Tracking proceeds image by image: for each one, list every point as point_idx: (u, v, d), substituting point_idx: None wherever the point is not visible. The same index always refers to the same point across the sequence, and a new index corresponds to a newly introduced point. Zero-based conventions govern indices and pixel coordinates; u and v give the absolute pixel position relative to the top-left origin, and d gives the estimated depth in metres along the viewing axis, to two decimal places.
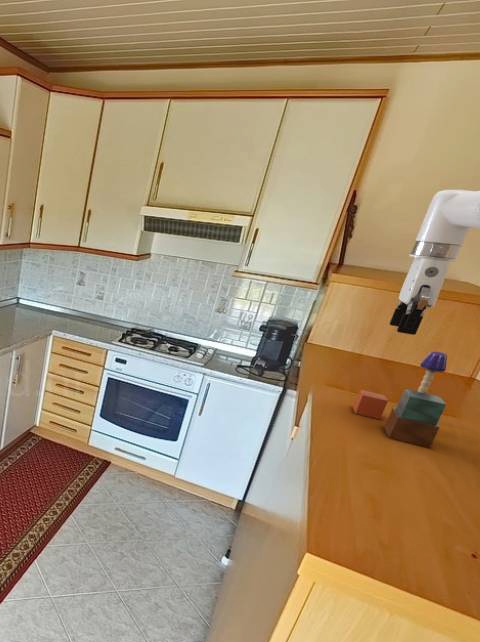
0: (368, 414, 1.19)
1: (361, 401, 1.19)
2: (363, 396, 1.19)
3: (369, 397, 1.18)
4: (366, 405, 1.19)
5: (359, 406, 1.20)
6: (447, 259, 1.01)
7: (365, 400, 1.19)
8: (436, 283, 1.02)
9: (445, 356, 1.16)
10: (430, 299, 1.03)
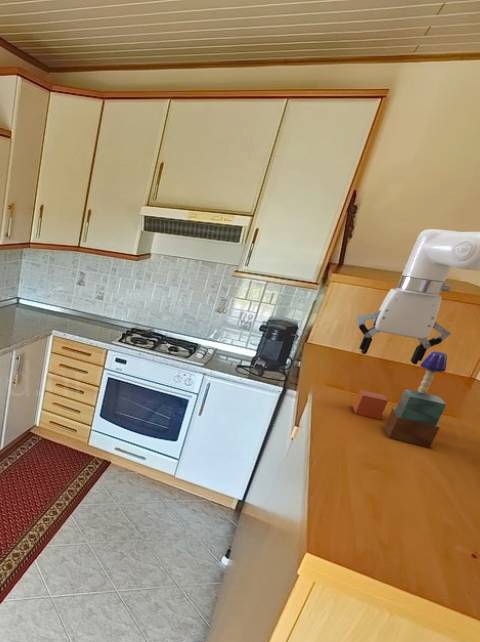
0: (368, 414, 1.19)
1: (361, 401, 1.19)
2: (363, 396, 1.19)
3: (369, 397, 1.18)
4: (366, 405, 1.19)
5: (359, 406, 1.20)
6: None
7: (365, 400, 1.19)
8: None
9: (445, 356, 1.16)
10: None
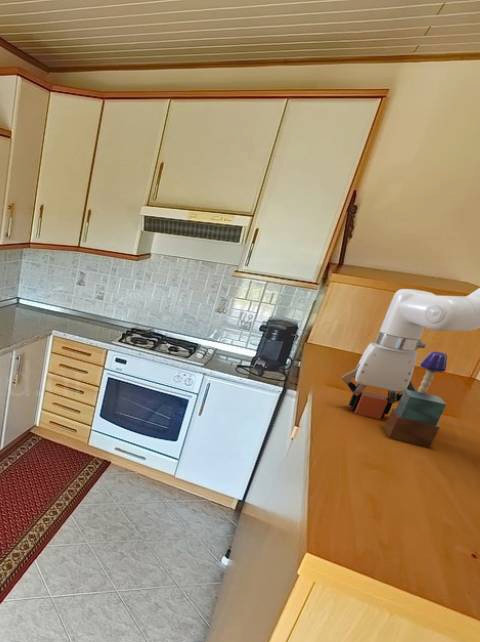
0: (368, 414, 1.19)
1: (361, 401, 1.19)
2: (363, 396, 1.19)
3: (369, 397, 1.18)
4: (366, 405, 1.19)
5: (359, 406, 1.20)
6: None
7: (365, 400, 1.19)
8: None
9: (445, 356, 1.16)
10: None
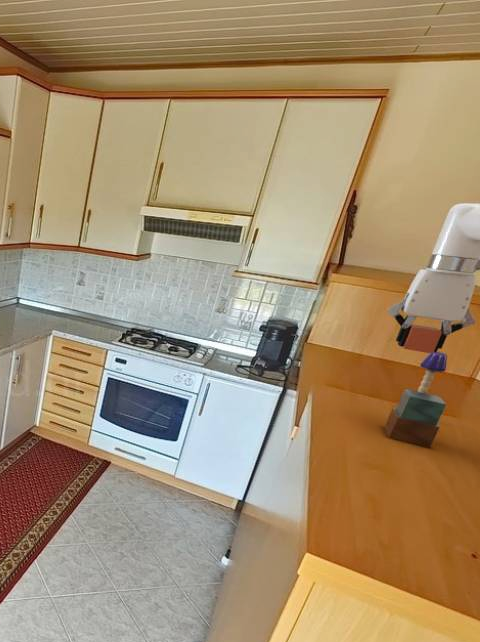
0: (419, 348, 1.07)
1: (411, 334, 1.07)
2: (413, 328, 1.07)
3: (420, 329, 1.06)
4: (417, 338, 1.07)
5: (408, 340, 1.08)
6: None
7: (415, 333, 1.07)
8: None
9: (445, 356, 1.16)
10: None
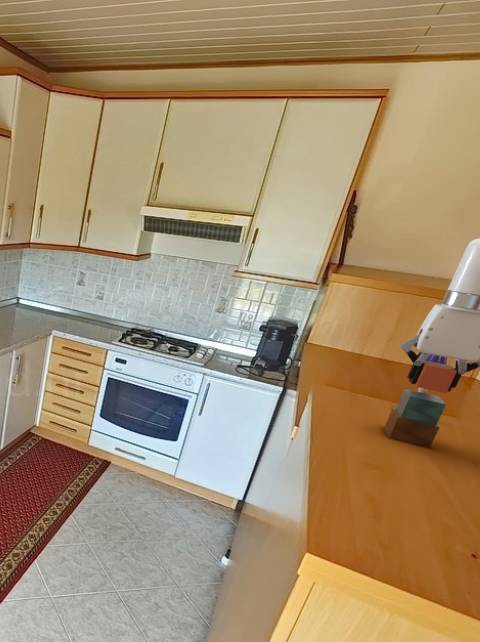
0: (432, 387, 1.03)
1: (424, 372, 1.03)
2: (426, 366, 1.02)
3: (434, 367, 1.02)
4: (430, 376, 1.02)
5: (421, 378, 1.03)
6: None
7: (429, 371, 1.02)
8: None
9: None
10: None
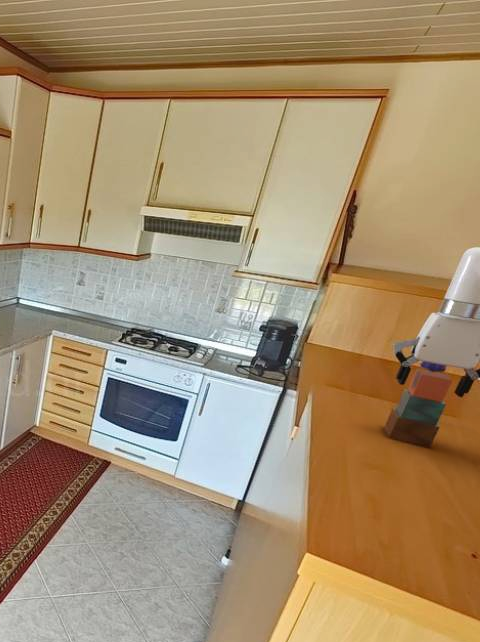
0: (428, 396, 1.03)
1: (420, 382, 1.03)
2: (422, 376, 1.03)
3: (429, 377, 1.02)
4: (426, 386, 1.03)
5: (417, 387, 1.04)
6: None
7: (424, 380, 1.03)
8: None
9: None
10: None
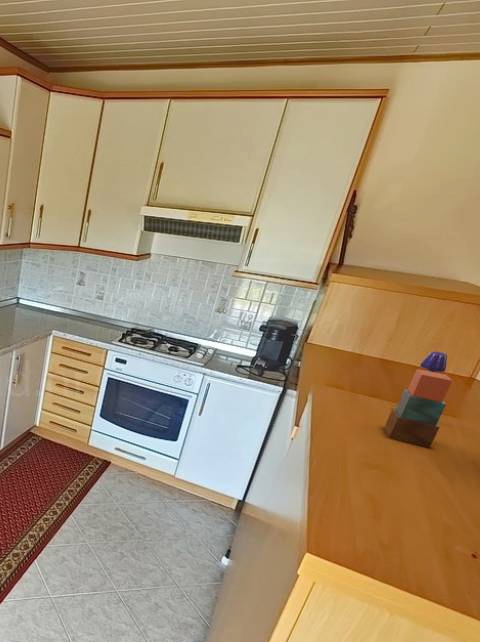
0: (428, 396, 1.03)
1: (420, 382, 1.03)
2: (422, 376, 1.03)
3: (429, 377, 1.02)
4: (426, 386, 1.03)
5: (417, 387, 1.04)
6: None
7: (425, 380, 1.03)
8: None
9: (445, 356, 1.16)
10: None
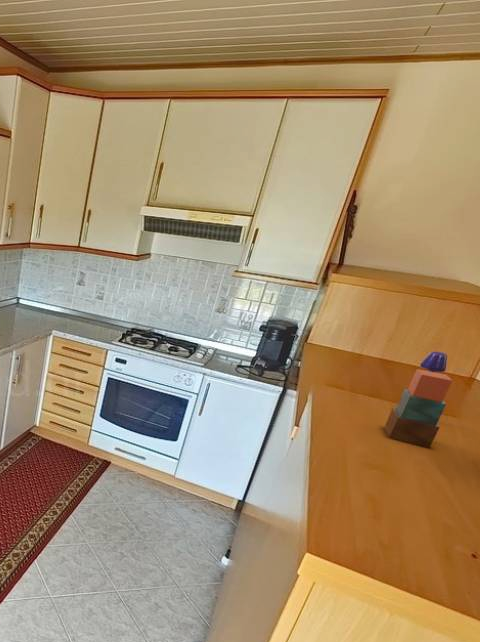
0: (428, 396, 1.03)
1: (420, 381, 1.03)
2: (422, 376, 1.03)
3: (429, 377, 1.02)
4: (426, 386, 1.03)
5: (417, 387, 1.04)
6: None
7: (424, 380, 1.03)
8: None
9: (445, 356, 1.16)
10: None
